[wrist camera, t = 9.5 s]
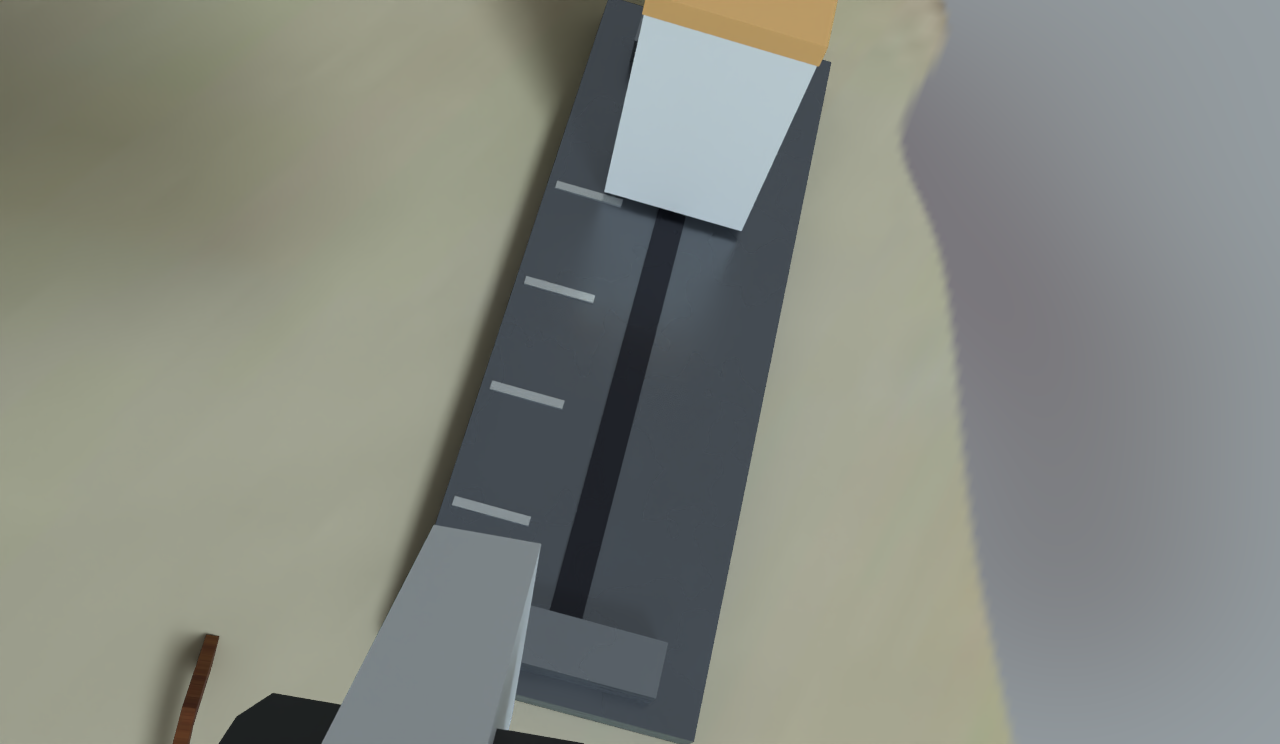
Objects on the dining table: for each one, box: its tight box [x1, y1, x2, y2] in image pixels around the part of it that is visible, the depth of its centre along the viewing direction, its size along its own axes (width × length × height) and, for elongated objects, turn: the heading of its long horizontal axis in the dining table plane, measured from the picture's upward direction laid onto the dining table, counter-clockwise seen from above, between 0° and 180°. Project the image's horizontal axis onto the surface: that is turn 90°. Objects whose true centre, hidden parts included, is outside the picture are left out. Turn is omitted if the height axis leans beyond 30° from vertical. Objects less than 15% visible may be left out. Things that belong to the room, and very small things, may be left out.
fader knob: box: [604, 0, 838, 231], centre depth 35 cm, size 4×5×10 cm
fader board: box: [435, 0, 831, 744], centre depth 37 cm, size 26×9×2 cm, turn 167°
